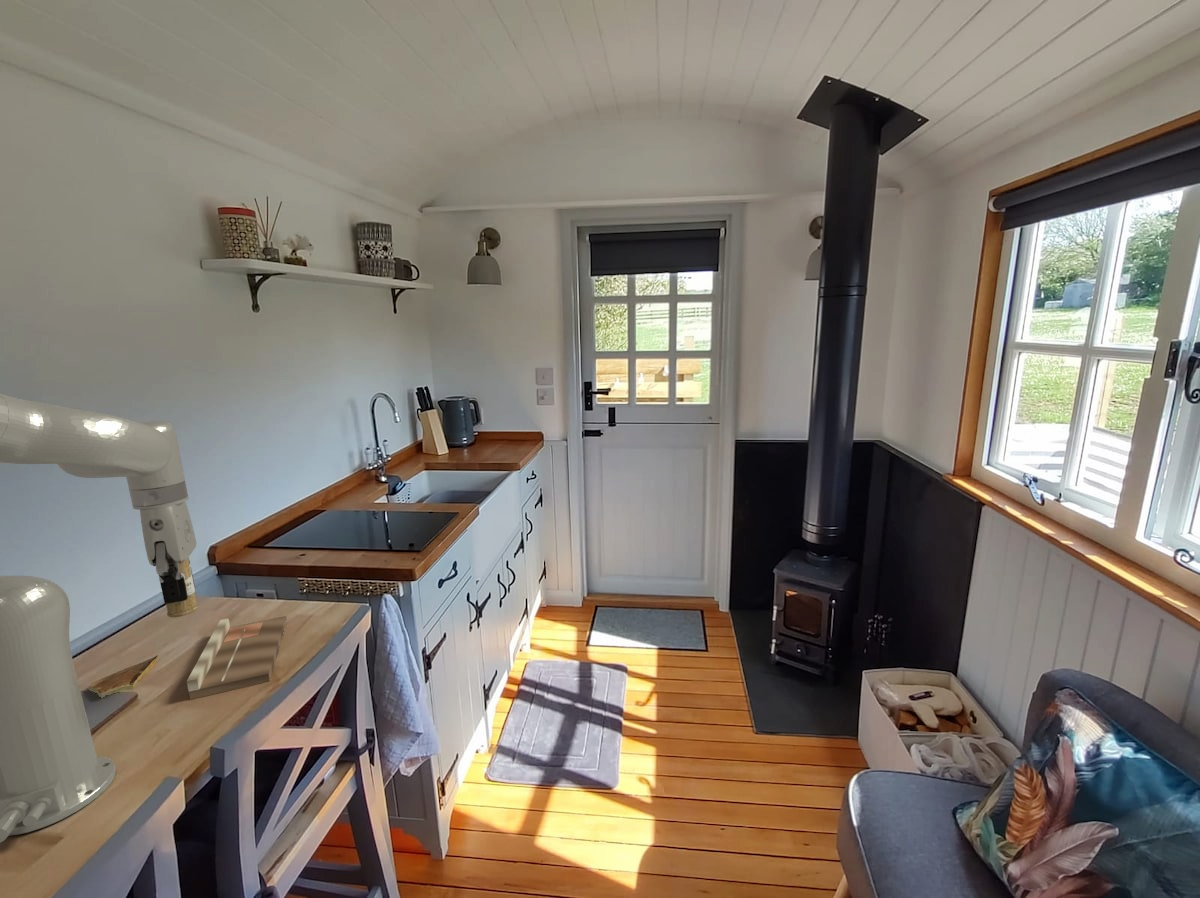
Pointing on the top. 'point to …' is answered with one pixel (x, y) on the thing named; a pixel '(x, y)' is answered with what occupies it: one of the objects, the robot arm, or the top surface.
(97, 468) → the robot arm
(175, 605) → the sprinkles bottle
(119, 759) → the top surface
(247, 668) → the guide board
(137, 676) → the shard
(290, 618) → the top surface
